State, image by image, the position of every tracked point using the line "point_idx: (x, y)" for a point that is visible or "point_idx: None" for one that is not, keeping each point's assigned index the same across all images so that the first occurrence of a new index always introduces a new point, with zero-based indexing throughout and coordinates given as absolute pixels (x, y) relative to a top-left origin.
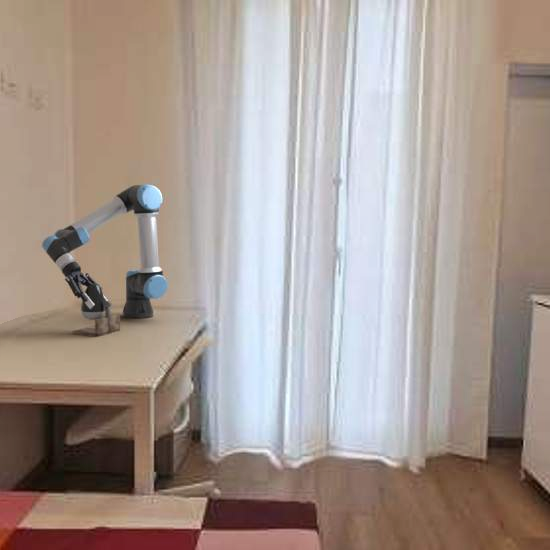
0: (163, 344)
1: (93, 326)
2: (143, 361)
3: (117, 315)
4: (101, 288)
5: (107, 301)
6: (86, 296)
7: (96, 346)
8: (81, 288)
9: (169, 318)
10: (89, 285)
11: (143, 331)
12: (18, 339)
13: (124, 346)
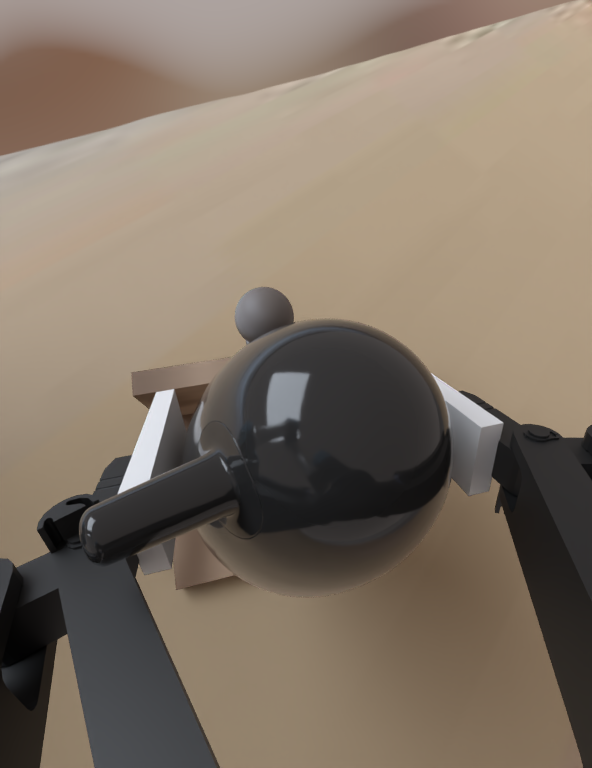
0: (298, 123)
1: (212, 562)
2: (487, 71)
3: (166, 367)
4: (45, 517)
5: (276, 297)
6: (466, 403)
7: (476, 251)
8: (567, 492)
9: None
10: (443, 429)
11: (121, 303)
12: None
13: (407, 188)
